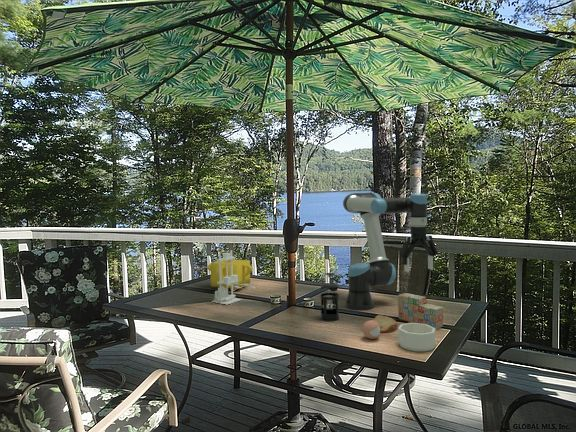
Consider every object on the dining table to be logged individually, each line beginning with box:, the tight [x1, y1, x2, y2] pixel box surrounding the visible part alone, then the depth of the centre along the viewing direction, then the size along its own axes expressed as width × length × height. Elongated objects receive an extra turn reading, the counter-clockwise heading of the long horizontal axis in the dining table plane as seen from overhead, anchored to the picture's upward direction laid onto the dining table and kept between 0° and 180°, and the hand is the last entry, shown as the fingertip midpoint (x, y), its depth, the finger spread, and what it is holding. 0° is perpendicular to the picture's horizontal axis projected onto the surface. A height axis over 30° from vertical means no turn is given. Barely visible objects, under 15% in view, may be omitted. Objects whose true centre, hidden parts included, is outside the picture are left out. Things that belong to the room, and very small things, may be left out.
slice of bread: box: [373, 314, 398, 334], centre depth 199 cm, size 18×18×4 cm
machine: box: [211, 249, 256, 306], centre depth 242 cm, size 29×12×30 cm, turn 55°
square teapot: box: [206, 258, 253, 290], centre depth 282 cm, size 35×30×21 cm
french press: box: [320, 272, 340, 322], centre depth 211 cm, size 12×9×23 cm
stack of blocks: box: [397, 292, 444, 330], centre depth 202 cm, size 21×6×12 cm, turn 36°
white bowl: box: [397, 322, 436, 353], centre depth 173 cm, size 14×14×7 cm
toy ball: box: [362, 319, 381, 340], centre depth 182 cm, size 8×8×8 cm
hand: (418, 270), depth 201 cm, fingers open, 13 cm apart
